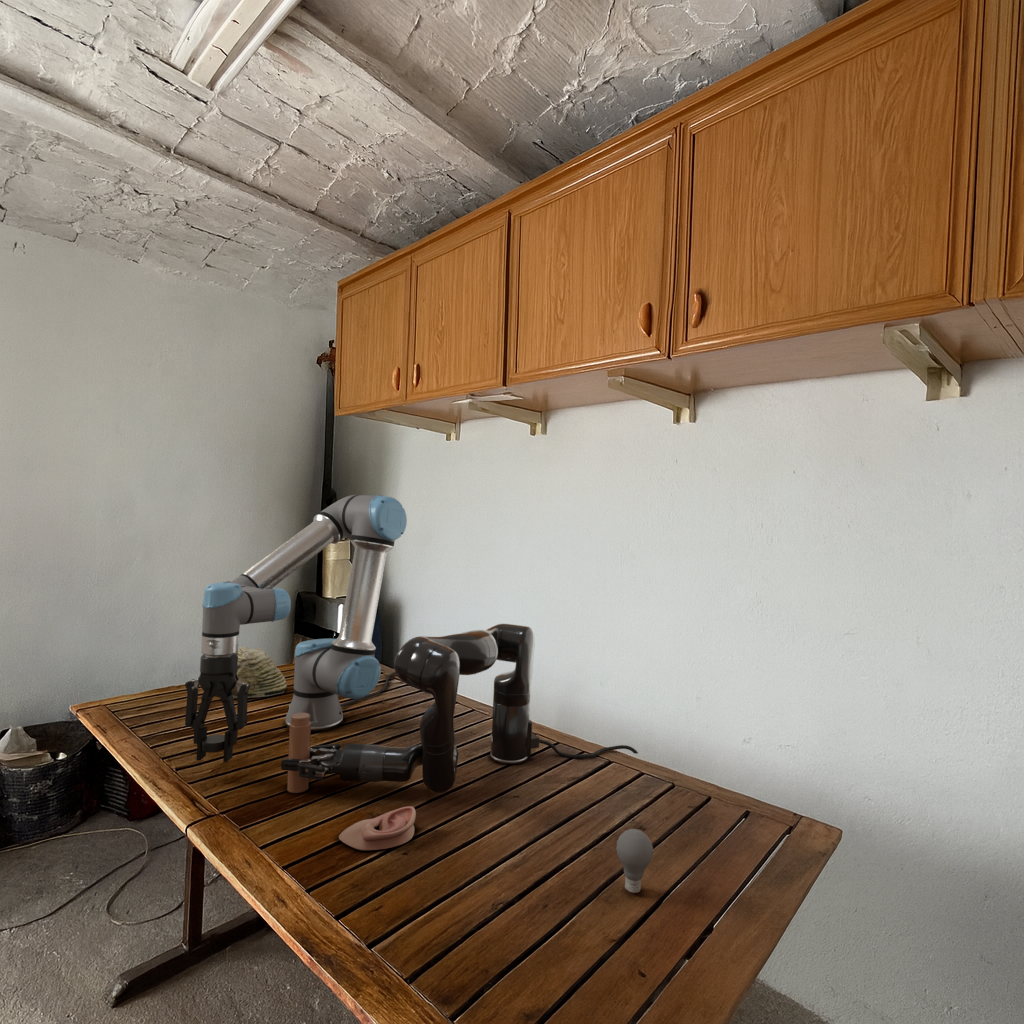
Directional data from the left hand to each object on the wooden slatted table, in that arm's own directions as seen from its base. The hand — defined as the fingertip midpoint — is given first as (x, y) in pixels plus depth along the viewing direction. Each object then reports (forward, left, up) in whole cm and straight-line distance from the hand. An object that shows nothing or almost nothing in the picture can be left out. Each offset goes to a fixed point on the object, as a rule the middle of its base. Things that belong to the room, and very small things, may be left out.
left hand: (214, 758), depth 140 cm
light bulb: (-27, +88, -5) cm, 93 cm away
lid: (0, 0, +4) cm, 4 cm away
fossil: (-36, -48, -5) cm, 60 cm away
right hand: (-8, +15, +2) cm, 17 cm away
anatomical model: (-9, +44, -5) cm, 46 cm away
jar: (-10, +17, -5) cm, 20 cm away
